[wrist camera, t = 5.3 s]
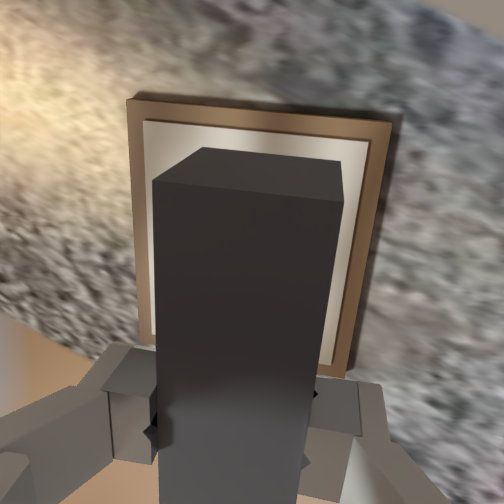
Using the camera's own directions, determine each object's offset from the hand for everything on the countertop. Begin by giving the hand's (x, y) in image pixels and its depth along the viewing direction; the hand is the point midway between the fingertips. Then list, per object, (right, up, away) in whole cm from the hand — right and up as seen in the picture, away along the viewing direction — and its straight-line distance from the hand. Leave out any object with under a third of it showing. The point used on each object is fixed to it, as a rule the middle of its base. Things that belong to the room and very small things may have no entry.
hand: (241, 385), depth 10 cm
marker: (0, +1, +1) cm, 2 cm away
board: (0, +3, +17) cm, 17 cm away
